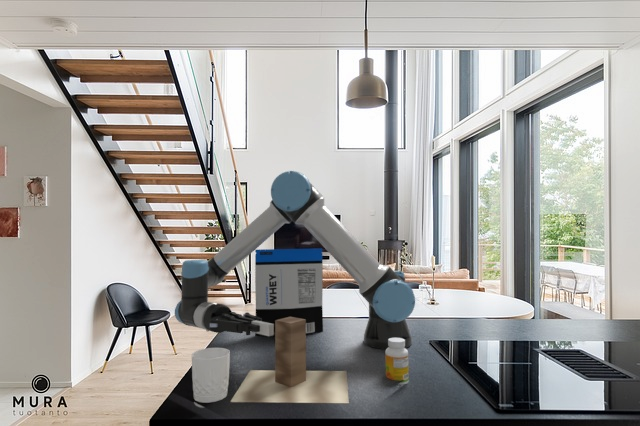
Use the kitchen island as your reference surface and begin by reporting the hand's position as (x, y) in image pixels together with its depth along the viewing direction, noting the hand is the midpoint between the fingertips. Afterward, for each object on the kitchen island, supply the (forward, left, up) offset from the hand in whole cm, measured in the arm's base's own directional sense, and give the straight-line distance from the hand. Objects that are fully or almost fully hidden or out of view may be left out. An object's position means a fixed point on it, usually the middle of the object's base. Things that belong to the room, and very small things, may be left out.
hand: (271, 330), depth 92 cm
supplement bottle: (-30, 0, -12) cm, 33 cm away
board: (-6, +6, -12) cm, 15 cm away
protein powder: (+1, -43, -12) cm, 45 cm away
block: (-5, +4, -11) cm, 12 cm away
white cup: (+11, +12, -12) cm, 20 cm away
